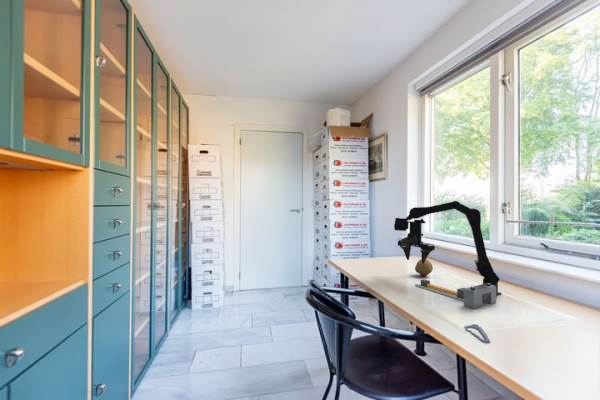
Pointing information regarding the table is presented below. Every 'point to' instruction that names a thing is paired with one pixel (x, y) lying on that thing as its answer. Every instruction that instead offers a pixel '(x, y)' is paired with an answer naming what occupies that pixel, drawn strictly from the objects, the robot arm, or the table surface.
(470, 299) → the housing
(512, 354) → the table surface
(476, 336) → the grey curved loop
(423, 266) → the natural sponge
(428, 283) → the grey-capped orange bar
